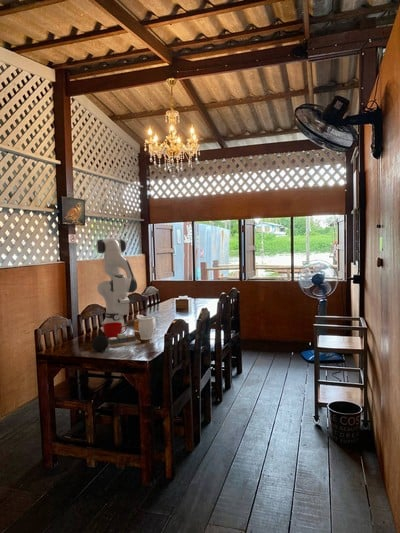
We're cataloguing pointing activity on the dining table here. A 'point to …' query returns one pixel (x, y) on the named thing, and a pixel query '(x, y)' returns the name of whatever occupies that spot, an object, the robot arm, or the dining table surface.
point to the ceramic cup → (113, 329)
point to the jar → (146, 327)
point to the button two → (121, 335)
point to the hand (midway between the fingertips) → (121, 319)
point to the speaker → (100, 343)
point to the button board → (122, 342)
